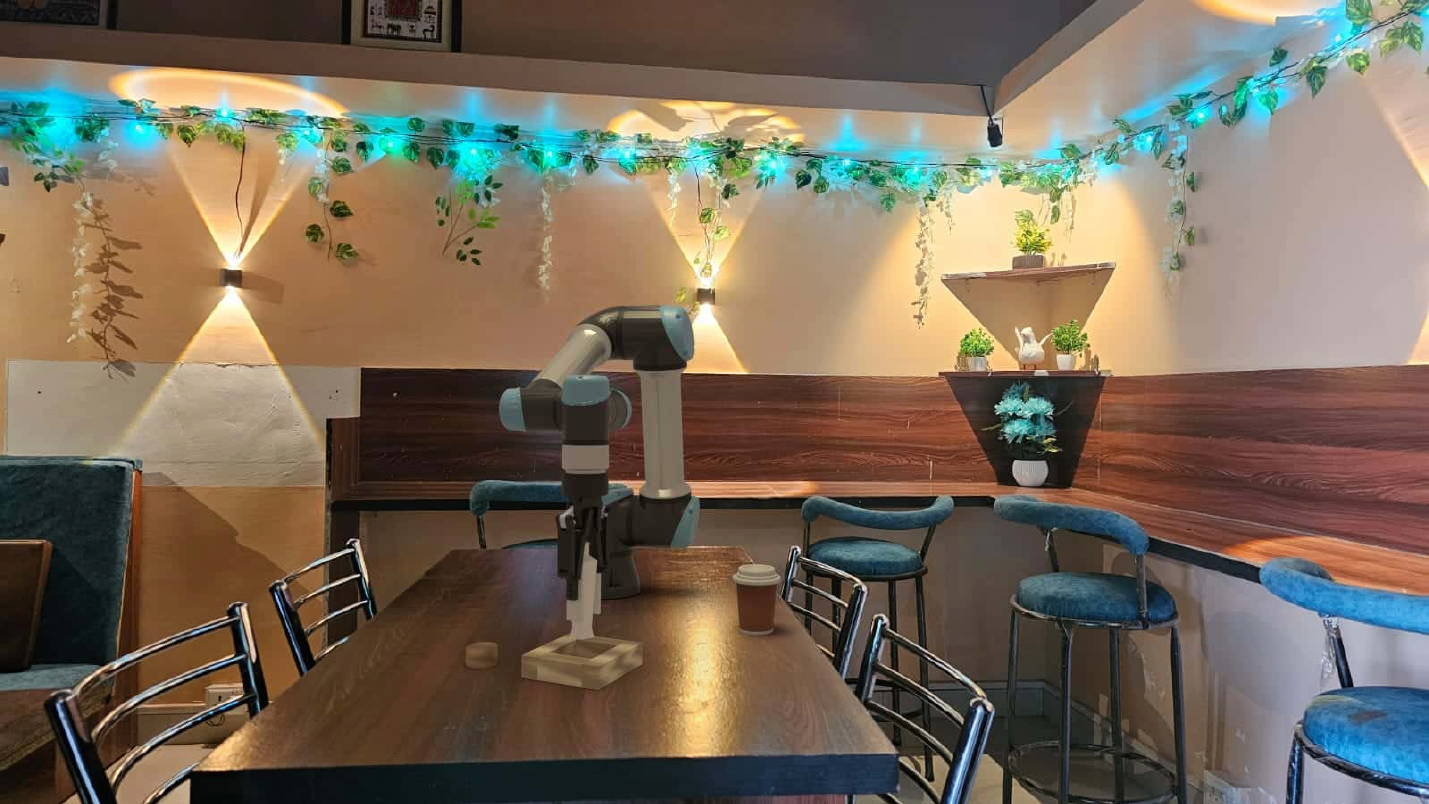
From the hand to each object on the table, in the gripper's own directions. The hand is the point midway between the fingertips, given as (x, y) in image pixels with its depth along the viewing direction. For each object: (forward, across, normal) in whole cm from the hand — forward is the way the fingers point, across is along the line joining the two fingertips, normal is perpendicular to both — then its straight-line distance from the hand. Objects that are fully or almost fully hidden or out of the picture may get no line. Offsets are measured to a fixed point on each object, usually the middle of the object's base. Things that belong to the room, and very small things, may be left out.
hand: (583, 616), depth 136 cm
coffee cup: (+9, -34, +17) cm, 39 cm away
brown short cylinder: (+9, +4, -17) cm, 20 cm away
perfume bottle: (+3, 0, 0) cm, 3 cm away
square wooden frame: (+9, 0, 0) cm, 9 cm away
